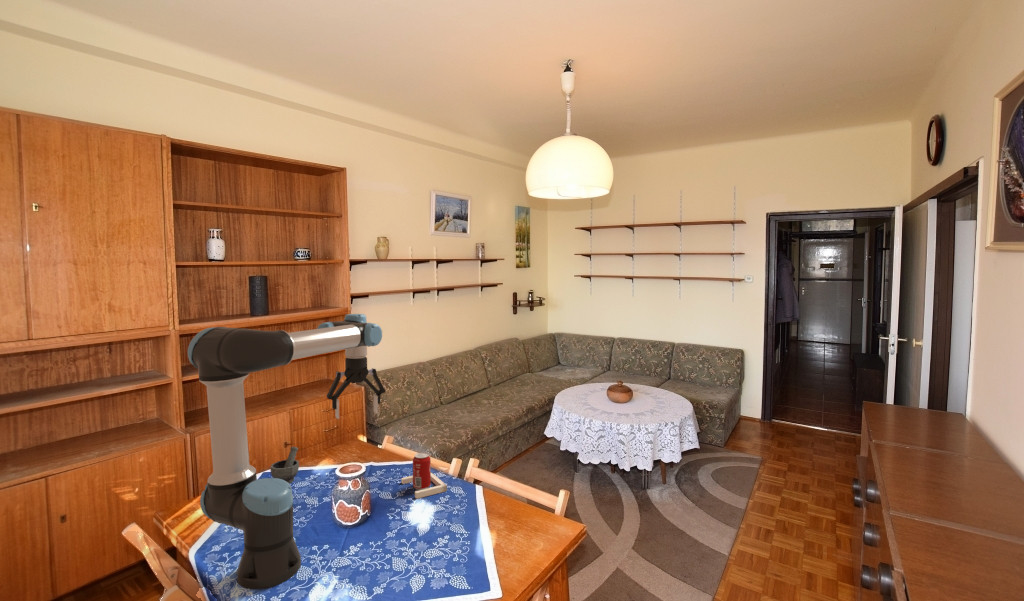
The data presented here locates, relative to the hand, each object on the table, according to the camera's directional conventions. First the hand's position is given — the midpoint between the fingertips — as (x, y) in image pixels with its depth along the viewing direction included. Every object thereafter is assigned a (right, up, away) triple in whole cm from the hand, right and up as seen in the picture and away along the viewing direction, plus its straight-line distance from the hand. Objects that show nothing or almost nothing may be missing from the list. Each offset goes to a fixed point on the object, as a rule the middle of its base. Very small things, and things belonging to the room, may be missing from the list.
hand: (356, 415), depth 175 cm
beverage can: (+23, -27, 0) cm, 35 cm away
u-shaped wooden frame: (+23, -26, 0) cm, 35 cm away
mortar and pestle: (-28, -26, +6) cm, 39 cm away
